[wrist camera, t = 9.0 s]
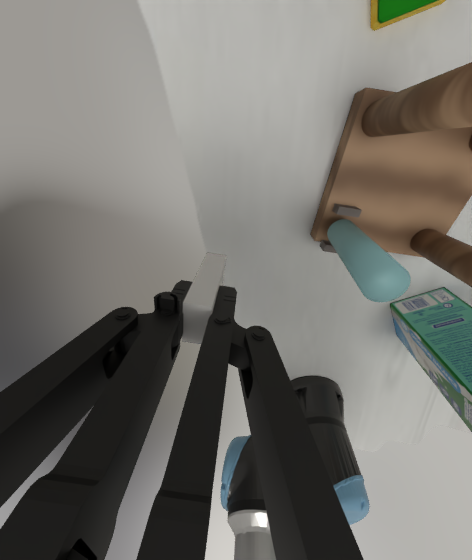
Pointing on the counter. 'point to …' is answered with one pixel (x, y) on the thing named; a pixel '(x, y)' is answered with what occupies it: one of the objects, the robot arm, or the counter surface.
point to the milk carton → (440, 343)
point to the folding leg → (368, 263)
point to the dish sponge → (397, 10)
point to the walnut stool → (406, 170)
